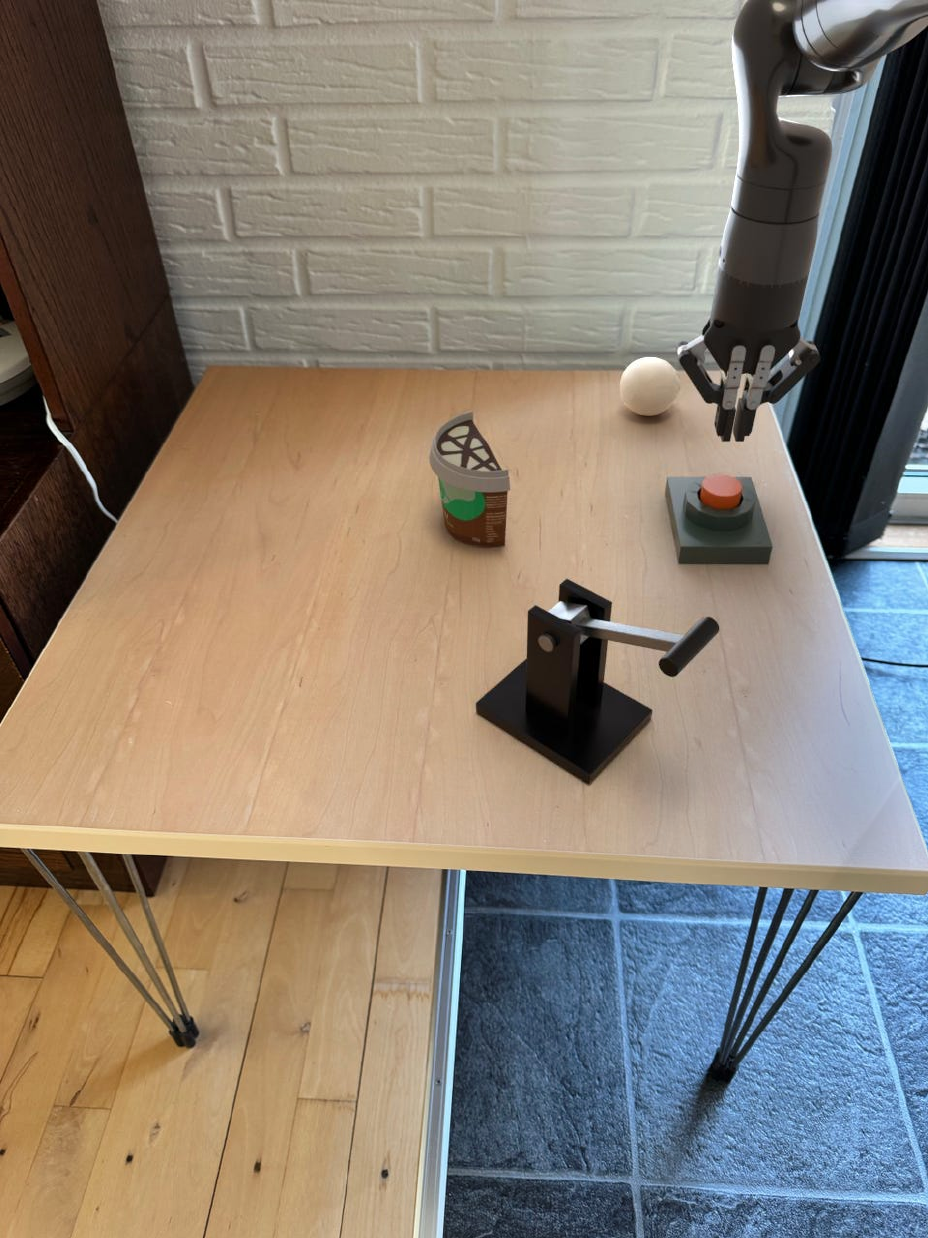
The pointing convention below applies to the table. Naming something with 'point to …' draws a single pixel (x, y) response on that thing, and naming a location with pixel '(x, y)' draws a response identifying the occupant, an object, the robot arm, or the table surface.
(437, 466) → the food container
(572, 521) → the table surface
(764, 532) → the button box
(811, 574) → the table surface
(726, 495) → the button
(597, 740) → the bracket
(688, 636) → the lever
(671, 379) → the cream ball
